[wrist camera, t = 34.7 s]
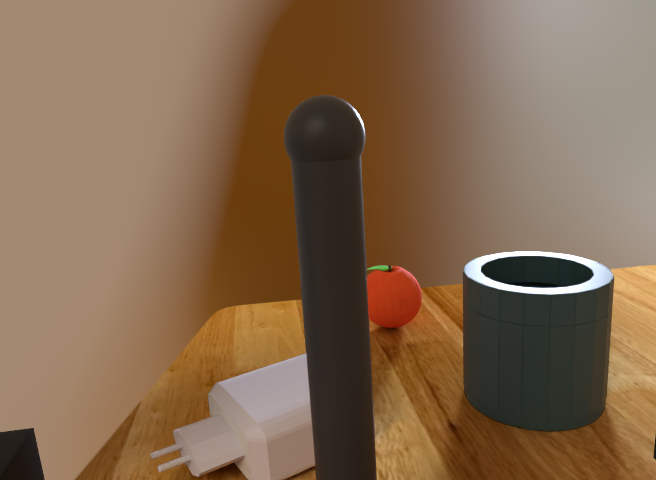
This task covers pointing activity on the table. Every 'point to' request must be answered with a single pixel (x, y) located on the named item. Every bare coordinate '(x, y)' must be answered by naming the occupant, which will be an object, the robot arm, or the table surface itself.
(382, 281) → the clementine
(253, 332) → the table surface
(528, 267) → the dark grey pipe sleeve
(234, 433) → the charger
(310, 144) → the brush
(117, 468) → the table surface
